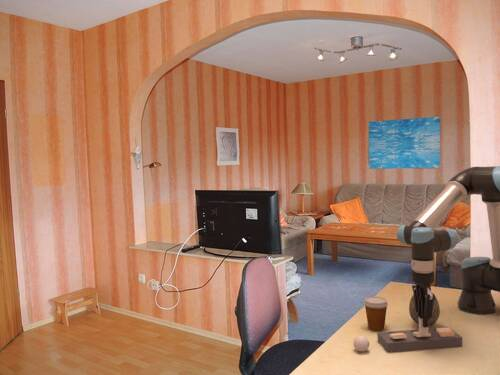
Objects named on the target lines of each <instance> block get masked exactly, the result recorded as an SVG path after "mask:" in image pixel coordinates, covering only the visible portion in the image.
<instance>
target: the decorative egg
mask: <svg viewBox="0 0 500 375" xmlns="http://www.w3.org/2000/svg"><path fill="white" fill-rule="evenodd" d="M431 293H432V294H434V293H433V292H432V291H431ZM408 310H409V316H410V318H411V320H412V321H413V322H414V323H415V324H416V325H418V326H419V316H418V313H416V311H415V303H414V294H413V295H412V296H411V298H410V300H409V307H408ZM440 310H441V308H440V304H439V301H438V298H437V296H435V298H434V302H433V310H432V318H428V327H431V326H434V325H435V324H436V323H437V321H438V320H439V317H440V314H441V311H440Z"/></svg>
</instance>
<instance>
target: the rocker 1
mask: <svg viewBox="0 0 500 375" xmlns="http://www.w3.org/2000/svg"><path fill="white" fill-rule="evenodd" d="M389 337H391V338H393V339H399V338H407V335H406V334H403V333H395V334H389Z"/></svg>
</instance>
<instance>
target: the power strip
mask: <svg viewBox="0 0 500 375" xmlns="http://www.w3.org/2000/svg"><path fill="white" fill-rule="evenodd" d="M447 327H448V326H443V327H439V328H447ZM436 328H437V327H428V332H429V333H431V336H425V337H416V336H414V335H413V332H419V328H418V329H416V328H415V329H404V330H391V331H390V330H389V331H376V332H377V342H378V343H379V345H380V346H381V347H382V348H383V349H384V351H386V352H387V353H388V354H389V353H401V352H414V351H425V350H439V349H450V348H460V347H461V348H462V347H463V337H462V336H461V335H460V334H459V333H457V332H456V331H454V330H453V329H451V328H450V329H451V330H452V331H453V332H454V334H455V335H454V336H449V337H441V336H440V335H439V334H438V333H437V332H436ZM395 333H403V334H406V335H407V338H399V339H393V338H391V337H389V334H395Z"/></svg>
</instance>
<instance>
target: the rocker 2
mask: <svg viewBox="0 0 500 375" xmlns="http://www.w3.org/2000/svg"><path fill="white" fill-rule="evenodd" d="M446 327H447V328H440V327H435V328H436V332H437V333H438V334H439V335H440V336H441V337H449V336H454V335H455V334H454V332H455V331H454V330H453V329H452V330H453V331H454V332H453V331H452V330H451V328H450V327H449V326H446Z"/></svg>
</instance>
